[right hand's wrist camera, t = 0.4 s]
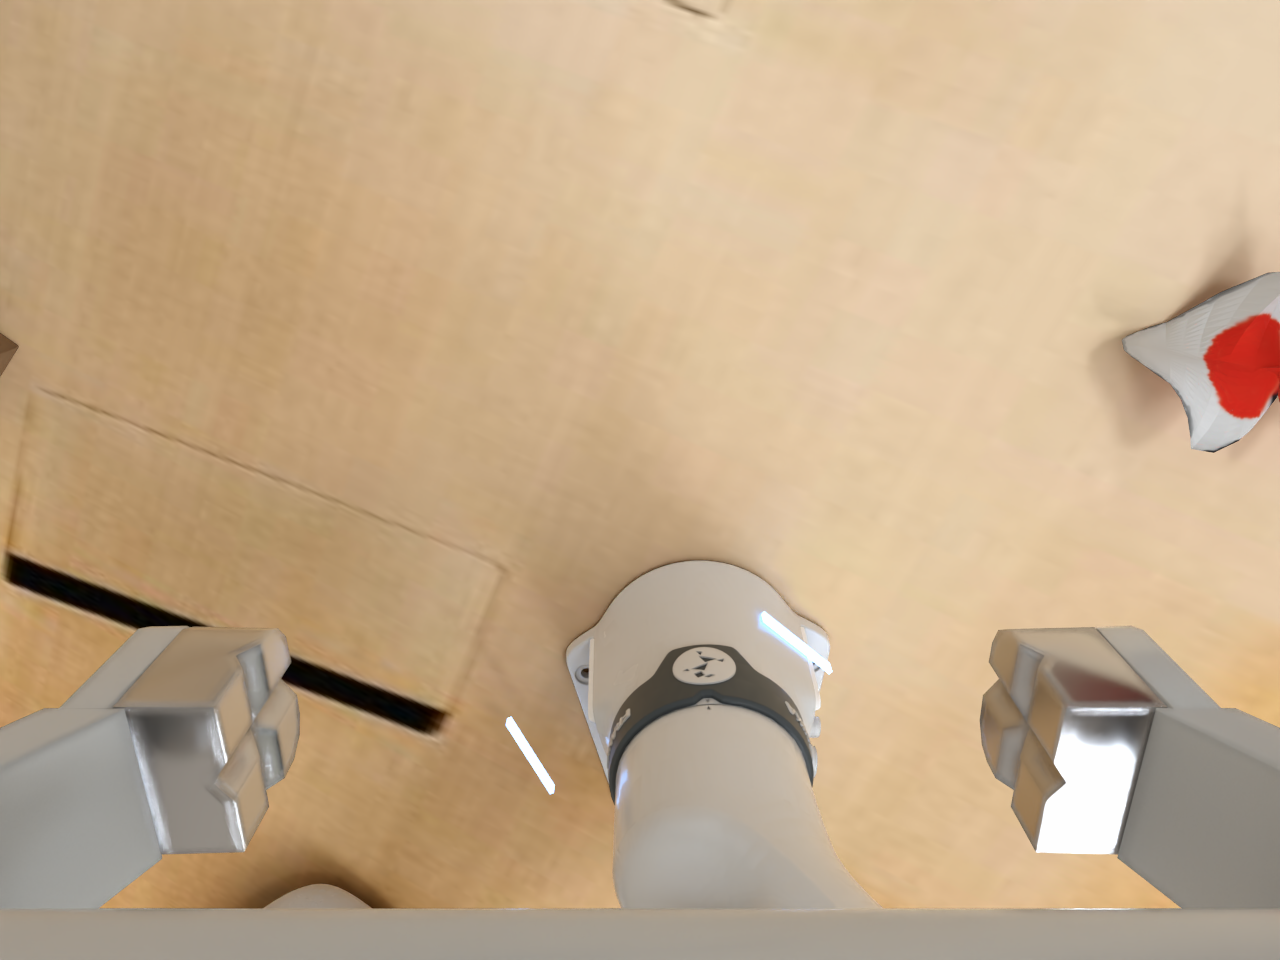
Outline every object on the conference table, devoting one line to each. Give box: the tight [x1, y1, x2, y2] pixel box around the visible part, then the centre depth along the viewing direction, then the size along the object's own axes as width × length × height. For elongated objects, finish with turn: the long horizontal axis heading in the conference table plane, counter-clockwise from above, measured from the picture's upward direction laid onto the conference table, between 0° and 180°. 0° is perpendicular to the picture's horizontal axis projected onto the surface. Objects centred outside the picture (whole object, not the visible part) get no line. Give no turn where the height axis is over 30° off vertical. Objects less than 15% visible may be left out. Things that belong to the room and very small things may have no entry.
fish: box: [1122, 272, 1280, 453], centre depth 53 cm, size 11×16×10 cm
